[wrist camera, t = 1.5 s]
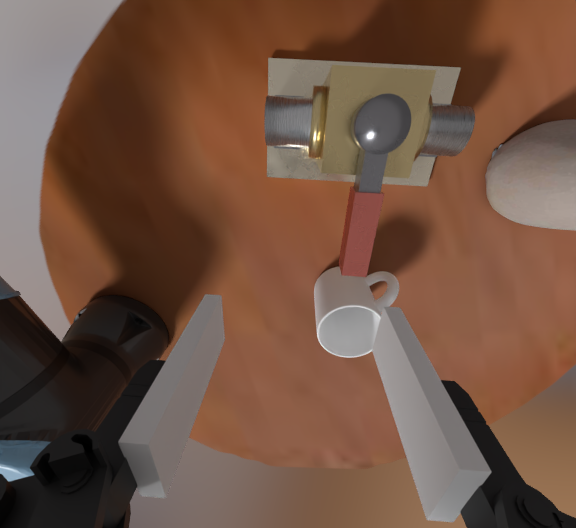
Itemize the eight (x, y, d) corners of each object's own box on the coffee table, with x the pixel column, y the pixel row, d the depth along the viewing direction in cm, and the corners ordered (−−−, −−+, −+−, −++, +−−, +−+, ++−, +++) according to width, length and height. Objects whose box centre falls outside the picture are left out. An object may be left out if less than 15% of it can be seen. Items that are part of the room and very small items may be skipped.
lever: (354, 96, 21) (361, 91, 19) (404, 99, 21) (418, 94, 18) (330, 263, 28) (333, 275, 25) (368, 265, 28) (375, 278, 25)
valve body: (267, 175, 34) (255, 191, 25) (269, 60, 28) (254, 27, 19) (423, 184, 33) (468, 204, 25) (455, 69, 28) (527, 40, 19)
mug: (371, 240, 37) (394, 275, 28) (398, 280, 40) (427, 325, 31) (303, 282, 41) (303, 326, 32) (332, 317, 44) (340, 366, 34)
